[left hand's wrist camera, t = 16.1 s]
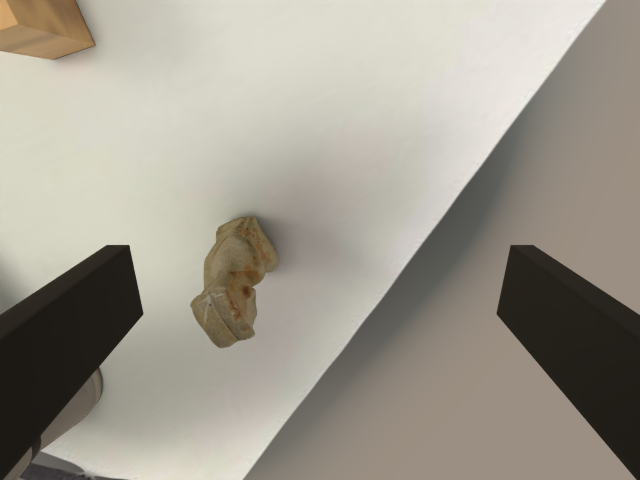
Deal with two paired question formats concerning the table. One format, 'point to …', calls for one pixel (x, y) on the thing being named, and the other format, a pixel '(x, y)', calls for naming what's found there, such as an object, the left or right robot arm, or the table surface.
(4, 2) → the bar
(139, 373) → the table surface
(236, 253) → the sculpture
